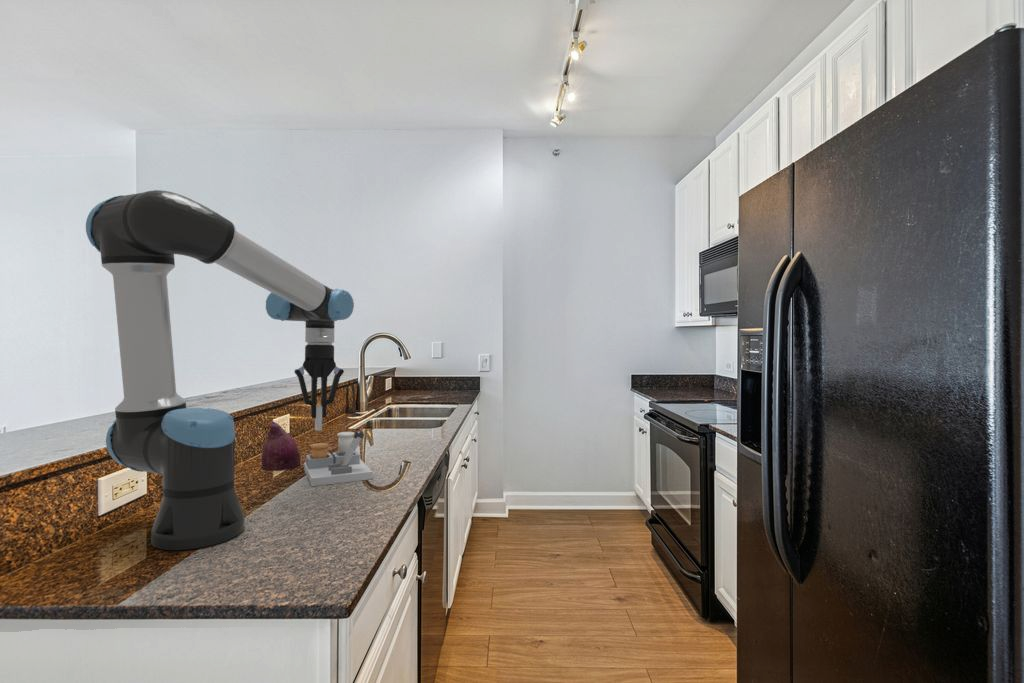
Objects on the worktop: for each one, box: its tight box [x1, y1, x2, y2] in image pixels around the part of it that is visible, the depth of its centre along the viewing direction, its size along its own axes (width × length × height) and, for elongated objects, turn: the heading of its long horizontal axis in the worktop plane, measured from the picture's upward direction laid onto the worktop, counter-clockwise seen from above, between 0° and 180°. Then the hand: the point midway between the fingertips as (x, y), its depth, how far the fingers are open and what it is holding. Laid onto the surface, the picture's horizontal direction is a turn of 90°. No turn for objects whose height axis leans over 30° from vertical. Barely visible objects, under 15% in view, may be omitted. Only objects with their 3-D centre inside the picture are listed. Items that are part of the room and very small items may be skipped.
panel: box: [303, 450, 373, 487], centre depth 141 cm, size 15×18×4 cm
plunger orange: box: [310, 442, 329, 459], centre depth 143 cm, size 5×5×5 cm
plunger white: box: [336, 431, 355, 453], centre depth 146 cm, size 5×5×5 cm
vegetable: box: [261, 420, 301, 472], centre depth 148 cm, size 10×10×15 cm
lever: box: [339, 430, 365, 467], centre depth 138 cm, size 3×3×11 cm
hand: (318, 429), depth 142 cm, fingers closed
